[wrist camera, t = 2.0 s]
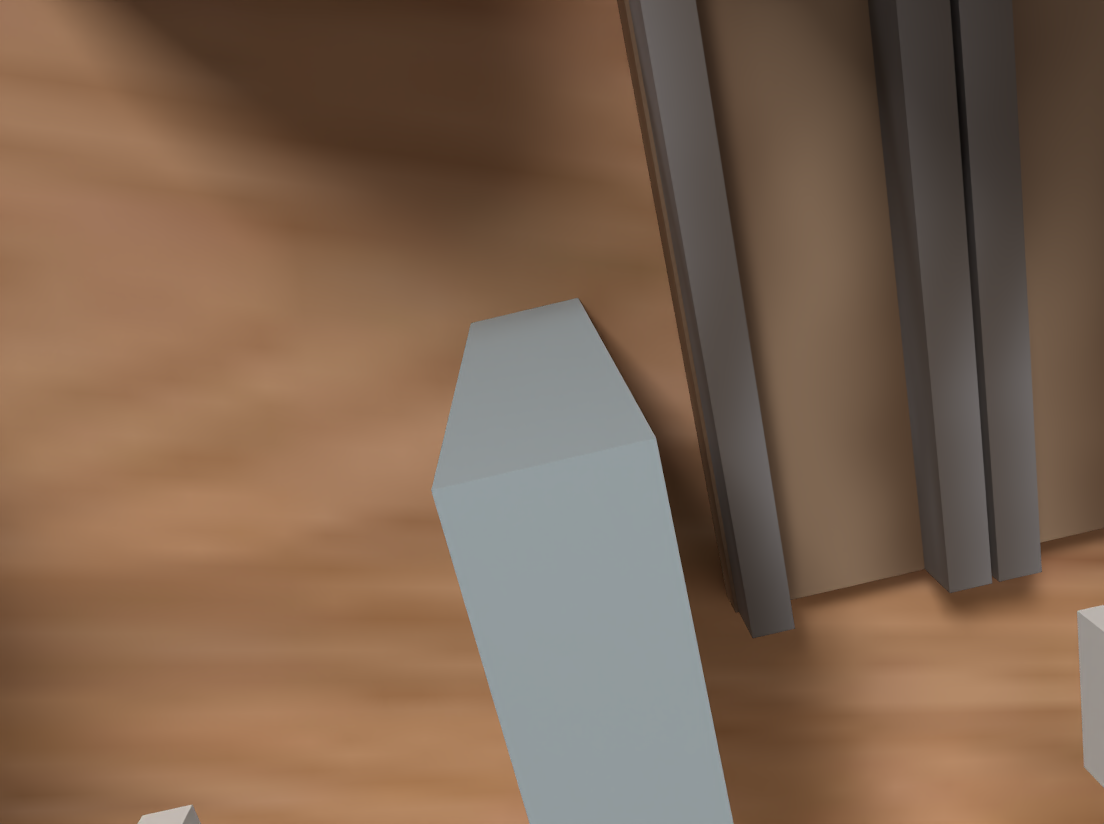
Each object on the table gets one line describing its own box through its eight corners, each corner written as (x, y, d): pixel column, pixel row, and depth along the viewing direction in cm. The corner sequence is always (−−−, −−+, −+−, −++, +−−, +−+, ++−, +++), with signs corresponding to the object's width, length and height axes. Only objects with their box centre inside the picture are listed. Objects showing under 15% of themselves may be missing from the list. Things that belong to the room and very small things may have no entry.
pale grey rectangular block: (552, 634, 25) (591, 1032, 13) (470, 322, 22) (431, 490, 10) (647, 613, 25) (767, 992, 13) (578, 297, 22) (656, 437, 10)
